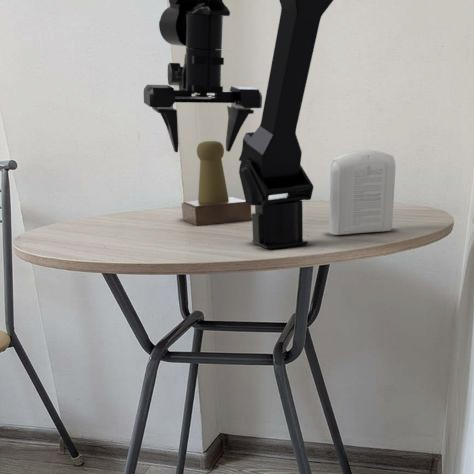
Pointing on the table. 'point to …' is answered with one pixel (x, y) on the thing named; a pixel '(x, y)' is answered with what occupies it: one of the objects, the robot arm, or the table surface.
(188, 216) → the block
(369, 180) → the white upright block
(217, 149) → the cork
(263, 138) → the robot arm
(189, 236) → the table surface
